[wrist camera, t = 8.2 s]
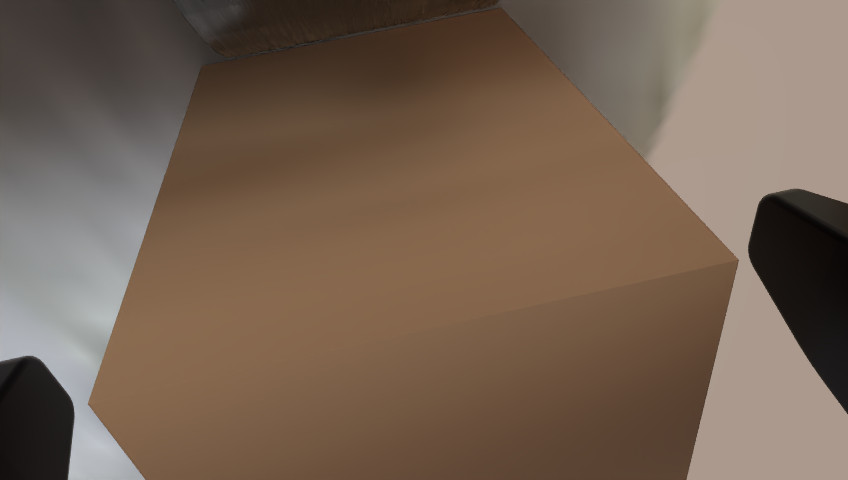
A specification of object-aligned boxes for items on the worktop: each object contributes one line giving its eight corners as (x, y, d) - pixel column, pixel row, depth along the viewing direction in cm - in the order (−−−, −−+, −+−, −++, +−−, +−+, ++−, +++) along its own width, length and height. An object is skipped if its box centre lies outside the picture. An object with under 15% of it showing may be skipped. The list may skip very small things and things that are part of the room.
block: (516, 283, 11) (657, 600, 7) (300, 330, 11) (305, 687, 7) (501, 7, 8) (739, 259, 4) (201, 65, 8) (87, 404, 4)
